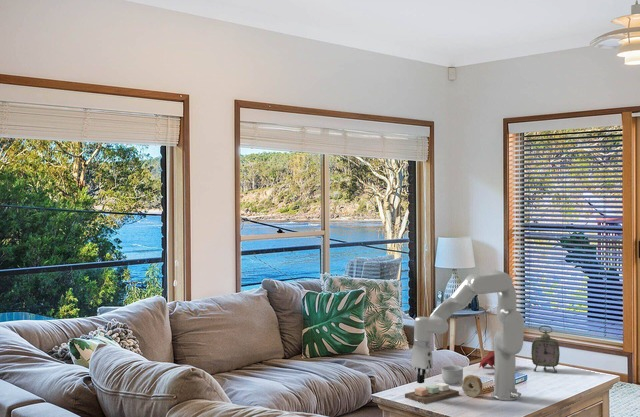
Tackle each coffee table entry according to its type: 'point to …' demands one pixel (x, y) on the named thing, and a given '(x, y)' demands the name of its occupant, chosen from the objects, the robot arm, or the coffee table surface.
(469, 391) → the bagel
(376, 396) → the coffee table surface
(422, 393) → the tile terracotta
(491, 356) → the decorative bird sculpture
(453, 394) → the brown tile tray
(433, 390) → the tile sage
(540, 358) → the tabletop clock
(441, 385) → the tile cream
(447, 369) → the teacup
